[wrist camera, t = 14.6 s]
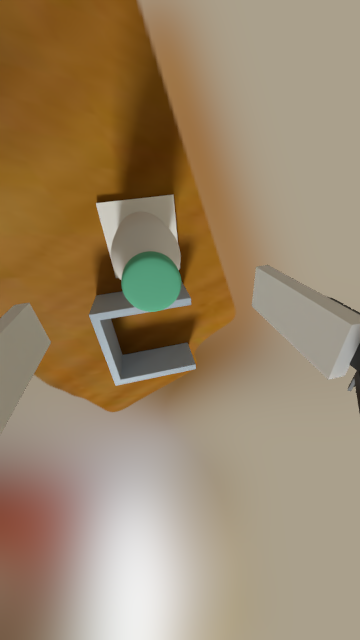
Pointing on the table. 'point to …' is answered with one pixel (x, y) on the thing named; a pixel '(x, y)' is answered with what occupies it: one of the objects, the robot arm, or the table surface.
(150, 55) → the table surface
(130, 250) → the milk bottle
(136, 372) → the grey u-shaped piece
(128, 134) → the table surface
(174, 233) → the tile
